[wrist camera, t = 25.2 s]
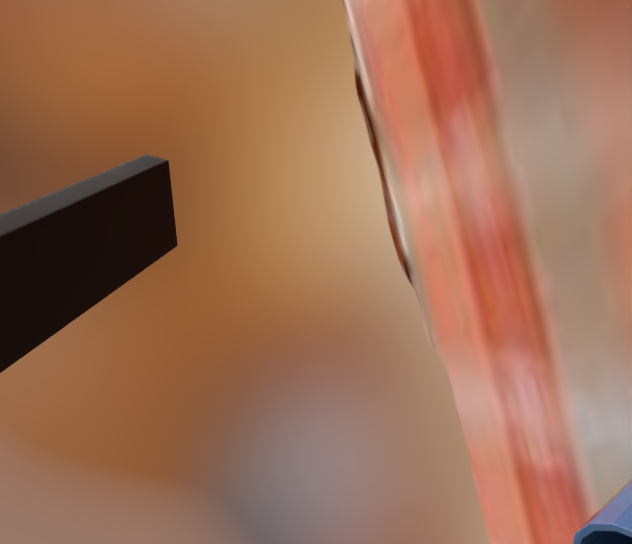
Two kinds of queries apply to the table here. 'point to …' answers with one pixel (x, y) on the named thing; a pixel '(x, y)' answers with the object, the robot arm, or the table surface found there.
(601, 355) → the table surface
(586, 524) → the tumbler
